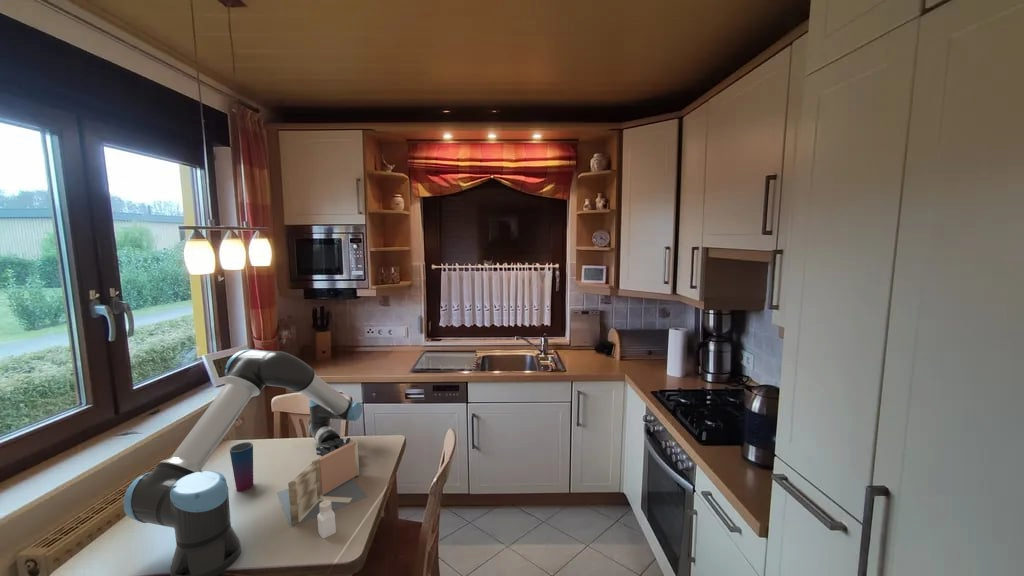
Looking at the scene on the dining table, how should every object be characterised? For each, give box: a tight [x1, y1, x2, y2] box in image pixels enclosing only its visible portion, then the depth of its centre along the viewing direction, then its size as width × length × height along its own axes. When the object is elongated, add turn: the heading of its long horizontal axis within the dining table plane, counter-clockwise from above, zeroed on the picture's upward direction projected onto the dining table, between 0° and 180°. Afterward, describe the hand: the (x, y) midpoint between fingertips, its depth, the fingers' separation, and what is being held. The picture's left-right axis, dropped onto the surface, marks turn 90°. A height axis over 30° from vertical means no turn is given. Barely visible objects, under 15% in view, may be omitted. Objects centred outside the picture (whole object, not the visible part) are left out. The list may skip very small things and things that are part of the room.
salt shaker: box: [316, 500, 337, 539], centre depth 119 cm, size 4×4×10 cm
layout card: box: [276, 477, 367, 528], centre depth 138 cm, size 23×22×1 cm
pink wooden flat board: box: [317, 440, 360, 495], centre depth 143 cm, size 15×2×13 cm, turn 149°
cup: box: [229, 441, 254, 492], centre depth 142 cm, size 7×7×15 cm
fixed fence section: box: [287, 459, 321, 526], centre depth 129 cm, size 14×2×13 cm, turn 174°
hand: (347, 463), depth 147 cm, fingers closed
